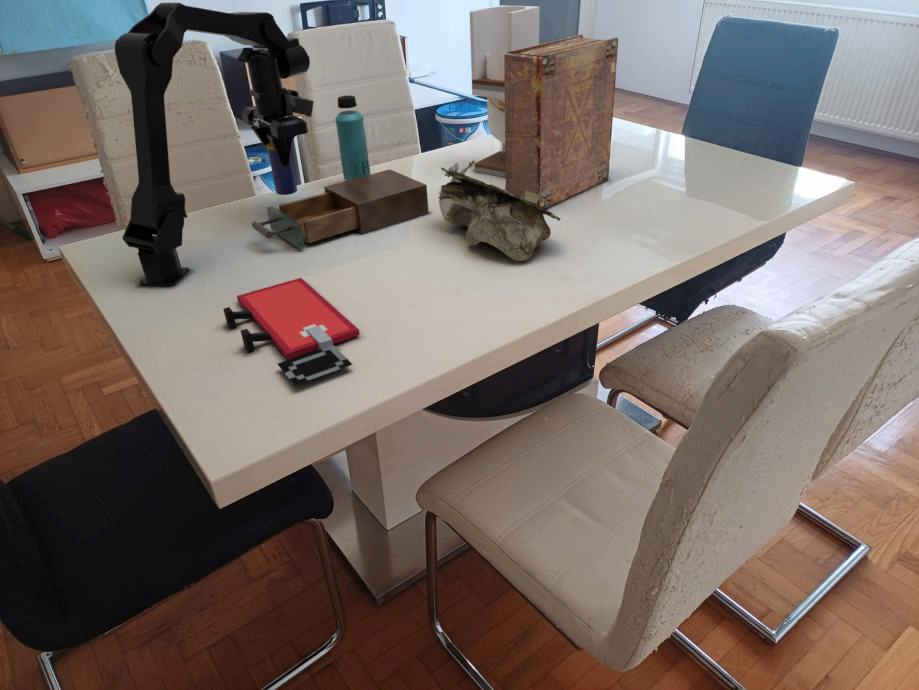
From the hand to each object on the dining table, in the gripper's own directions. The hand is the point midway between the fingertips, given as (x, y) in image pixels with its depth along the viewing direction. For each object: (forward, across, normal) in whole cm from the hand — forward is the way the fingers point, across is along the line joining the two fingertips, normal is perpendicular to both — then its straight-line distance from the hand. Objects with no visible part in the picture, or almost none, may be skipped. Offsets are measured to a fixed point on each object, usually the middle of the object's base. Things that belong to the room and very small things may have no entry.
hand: (281, 163), depth 139 cm
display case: (+11, -9, -53) cm, 55 cm away
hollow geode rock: (+11, -40, -24) cm, 47 cm away
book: (+11, -30, -51) cm, 60 cm away
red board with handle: (+11, -47, +21) cm, 52 cm away
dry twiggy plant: (+11, -15, -35) cm, 40 cm away
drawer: (+10, -13, +2) cm, 17 cm away
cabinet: (+11, -13, -14) cm, 22 cm away
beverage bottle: (+11, +6, -20) cm, 24 cm away
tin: (+6, 0, 0) cm, 6 cm away
